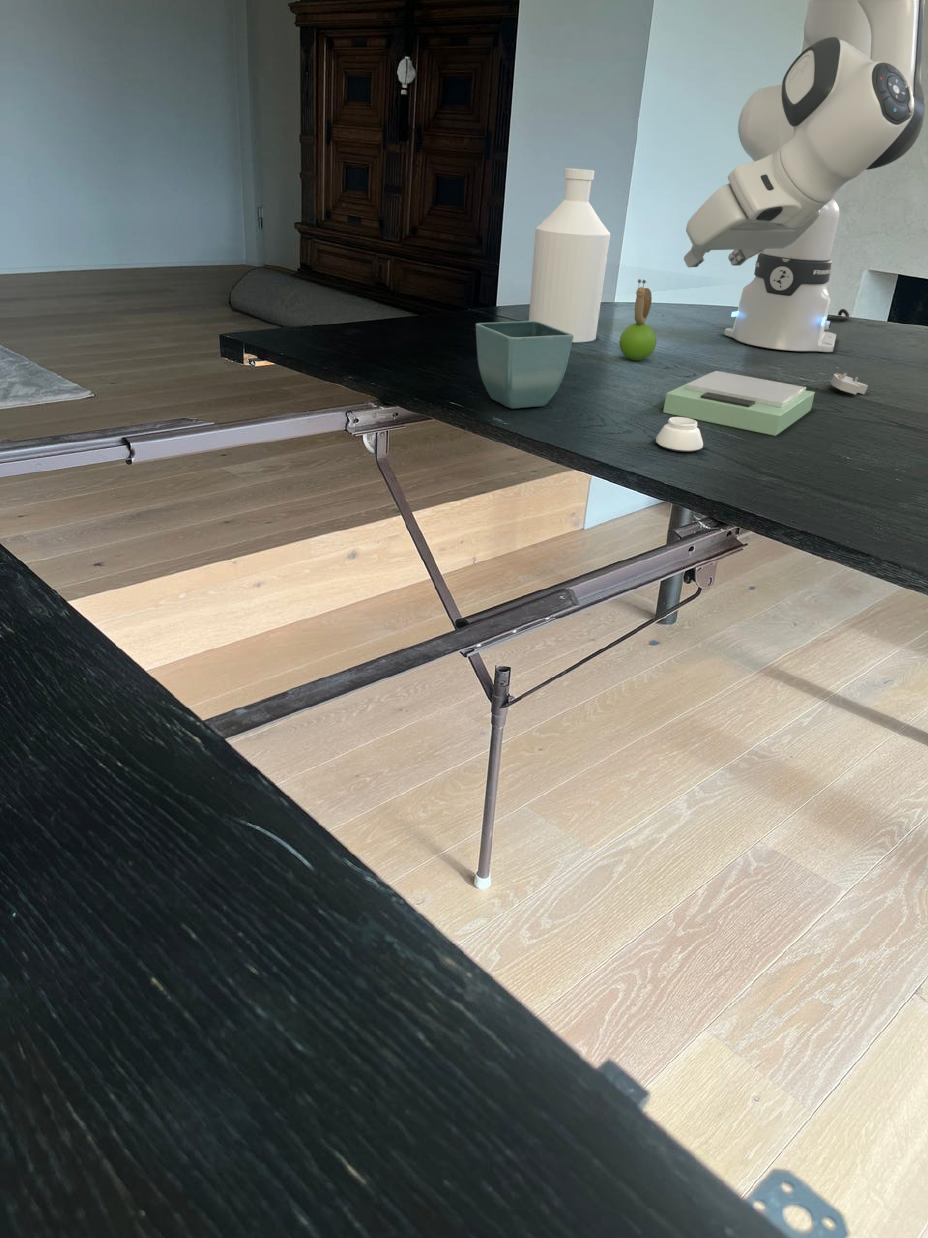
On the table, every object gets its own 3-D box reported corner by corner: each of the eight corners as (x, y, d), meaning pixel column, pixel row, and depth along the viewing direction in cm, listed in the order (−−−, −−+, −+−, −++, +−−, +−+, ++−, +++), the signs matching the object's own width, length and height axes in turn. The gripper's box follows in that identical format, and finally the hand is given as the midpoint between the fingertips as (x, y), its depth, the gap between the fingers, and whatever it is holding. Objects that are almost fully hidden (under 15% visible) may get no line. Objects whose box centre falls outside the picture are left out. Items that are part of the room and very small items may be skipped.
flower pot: (503, 415, 111) (510, 336, 107) (468, 396, 118) (473, 322, 114) (567, 410, 115) (575, 334, 111) (529, 392, 122) (536, 320, 118)
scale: (707, 390, 130) (711, 368, 129) (810, 410, 124) (816, 387, 122) (663, 412, 118) (667, 388, 116) (775, 435, 111) (781, 410, 110)
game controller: (873, 397, 133) (878, 378, 132) (796, 396, 131) (801, 377, 130) (852, 387, 138) (856, 368, 136) (778, 385, 136) (781, 367, 134)
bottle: (528, 325, 165) (544, 165, 153) (597, 332, 164) (618, 171, 152) (523, 338, 154) (538, 167, 143) (596, 345, 153) (618, 173, 142)
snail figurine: (611, 361, 143) (623, 277, 137) (621, 354, 148) (633, 272, 142) (647, 367, 141) (660, 281, 135) (656, 359, 146) (669, 276, 141)
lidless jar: (646, 443, 105) (679, 456, 101) (650, 417, 104) (684, 429, 100) (677, 438, 108) (711, 450, 104) (681, 412, 106) (716, 424, 103)
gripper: (824, 171, 125) (748, 241, 136) (726, 165, 113) (652, 243, 125) (846, 211, 124) (767, 279, 135) (750, 210, 112) (672, 284, 124)
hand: (711, 262), depth 130 cm, fingers open, 8 cm apart
